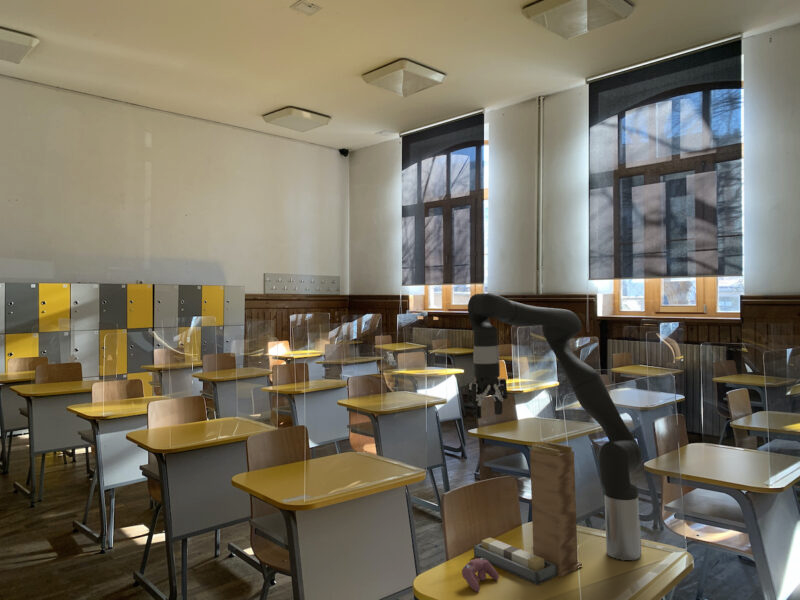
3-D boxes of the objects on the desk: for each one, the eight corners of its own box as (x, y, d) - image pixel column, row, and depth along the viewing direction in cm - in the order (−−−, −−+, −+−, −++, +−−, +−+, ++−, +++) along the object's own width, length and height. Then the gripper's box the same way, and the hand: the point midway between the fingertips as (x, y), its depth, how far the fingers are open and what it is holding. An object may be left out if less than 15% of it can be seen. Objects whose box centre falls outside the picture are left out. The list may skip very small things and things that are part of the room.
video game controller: (489, 581, 161) (479, 555, 163) (501, 578, 158) (491, 551, 160) (466, 594, 154) (456, 567, 156) (478, 592, 151) (468, 564, 153)
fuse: (490, 549, 176) (490, 537, 176) (544, 572, 160) (544, 558, 160) (482, 552, 174) (481, 540, 174) (536, 576, 158) (535, 562, 158)
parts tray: (493, 548, 178) (492, 538, 178) (556, 575, 160) (556, 564, 160) (474, 556, 174) (473, 546, 174) (537, 585, 155) (537, 573, 155)
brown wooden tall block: (550, 554, 173) (546, 440, 173) (582, 566, 164) (577, 446, 165) (529, 563, 168) (525, 445, 168) (561, 576, 159) (557, 452, 159)
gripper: (478, 364, 166) (480, 421, 166) (512, 359, 175) (514, 414, 175) (459, 362, 172) (461, 418, 172) (494, 358, 181) (495, 411, 180)
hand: (488, 416), depth 173 cm, fingers open, 8 cm apart
